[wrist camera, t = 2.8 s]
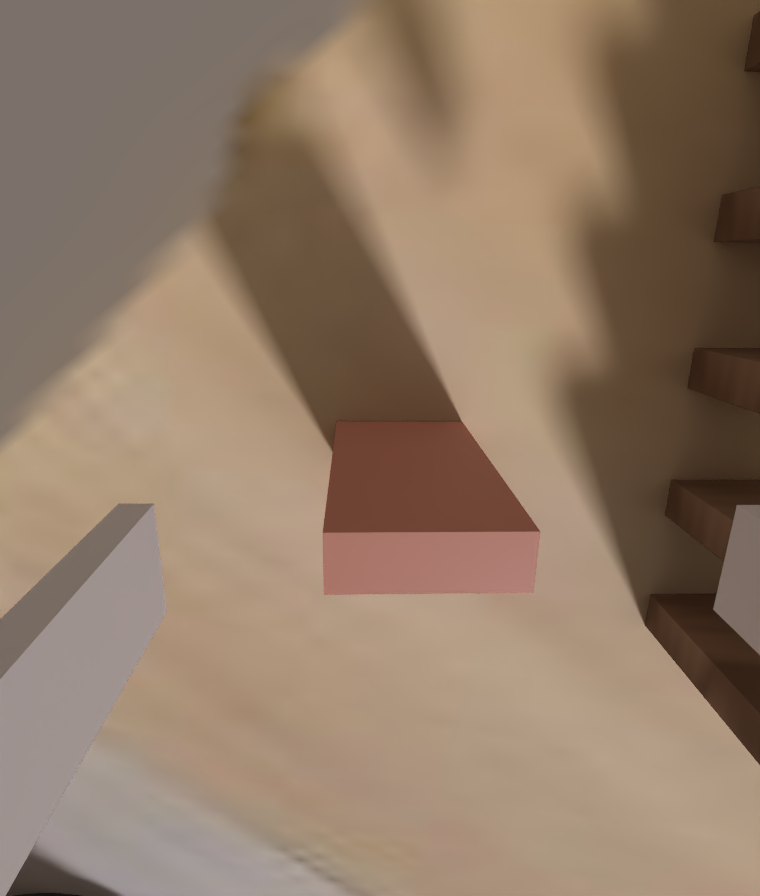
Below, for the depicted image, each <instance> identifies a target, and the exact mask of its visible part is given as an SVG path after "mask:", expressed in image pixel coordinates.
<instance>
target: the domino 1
mask: <svg viewBox="0 0 760 896" xmlns="http://www.w3.org/2000/svg"><path fill="white" fill-rule="evenodd" d="M539 539H540V530H539V529H538V528H537V526H536V525H535V523H534V522H533V521H532V519H531V518H530V516H529V515H528V514H527V512H526V511H525V509H524V508H523V507H522V505H521V504H520V502H519V501H518V500H517V498H516V497H515V495H514V494H513V493H512V491H511V490H510V488H509V487H508V486H507V484H506V483H505V481H504V480H503V478H502V477H501V476H500V474H499V473H498V471H497V470H496V469H495V467H494V466H493V464H492V463H491V462H490V460H489V459H488V457H487V456H486V455H485V453H484V452H483V450H482V449H481V448H480V446H479V445H478V443H477V442H476V441H475V439H474V438H473V436H472V435H471V434H470V432H469V431H468V429H467V428H466V426H465V425H464V424H463V422H447V421H337V422H336V430H335V438H334V446H333V454H332V463H331V471H330V479H329V487H328V495H327V503H326V511H325V519H324V527H323V573H324V595H336V594H432V593H528V592H534V585H535V575H536V566H537V557H538V548H539Z"/></svg>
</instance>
